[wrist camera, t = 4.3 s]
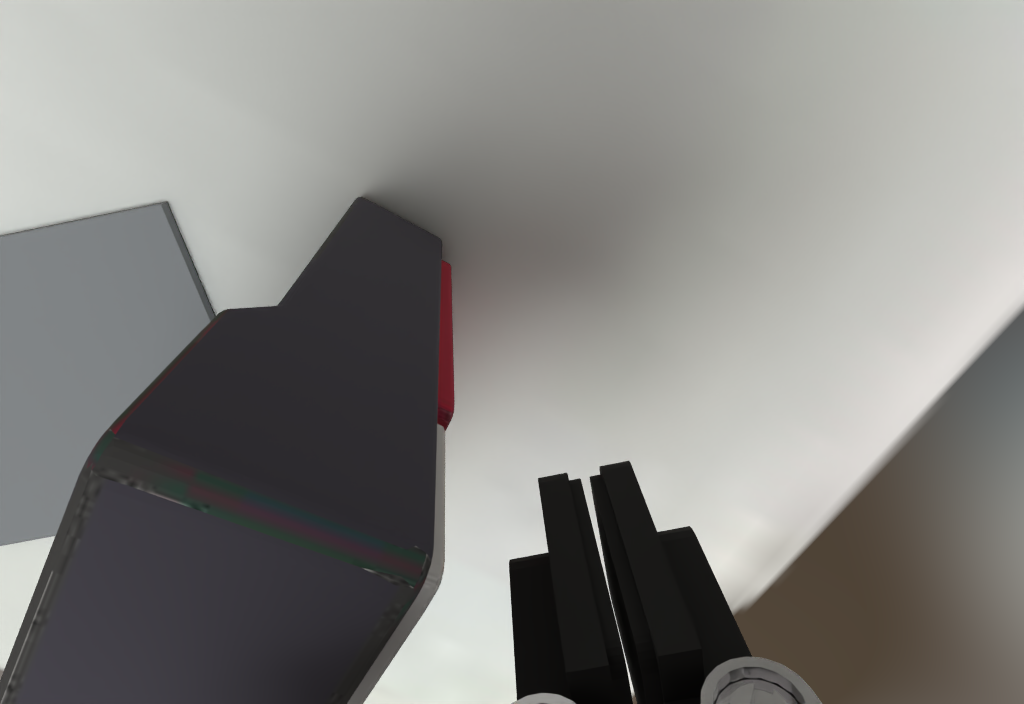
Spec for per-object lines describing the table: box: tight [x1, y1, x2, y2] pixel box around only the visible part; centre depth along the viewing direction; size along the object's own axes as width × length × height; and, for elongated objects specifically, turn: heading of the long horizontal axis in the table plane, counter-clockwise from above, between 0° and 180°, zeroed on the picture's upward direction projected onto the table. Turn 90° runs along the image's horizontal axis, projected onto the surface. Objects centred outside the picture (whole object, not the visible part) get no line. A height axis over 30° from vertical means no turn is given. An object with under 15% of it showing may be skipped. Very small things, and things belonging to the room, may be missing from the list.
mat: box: [0, 202, 215, 546], centre depth 22 cm, size 12×11×1 cm
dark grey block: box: [0, 197, 454, 704], centre depth 15 cm, size 11×4×15 cm, turn 150°
